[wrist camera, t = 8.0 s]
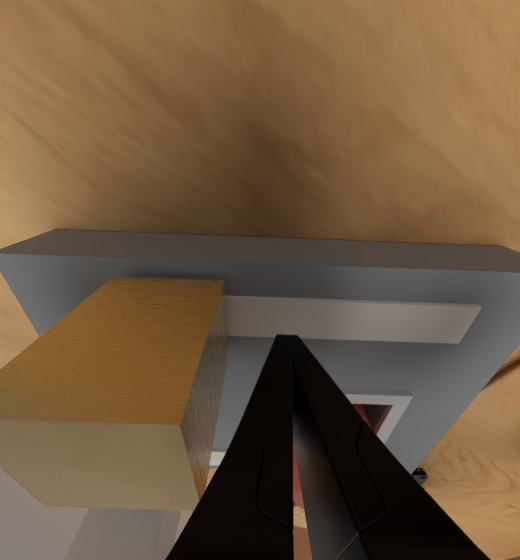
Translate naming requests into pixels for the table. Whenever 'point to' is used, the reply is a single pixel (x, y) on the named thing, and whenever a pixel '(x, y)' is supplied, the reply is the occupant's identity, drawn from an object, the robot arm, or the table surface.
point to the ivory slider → (125, 534)
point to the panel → (314, 314)
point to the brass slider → (119, 398)
